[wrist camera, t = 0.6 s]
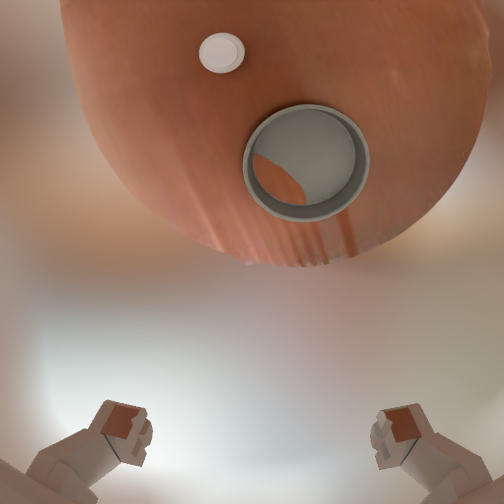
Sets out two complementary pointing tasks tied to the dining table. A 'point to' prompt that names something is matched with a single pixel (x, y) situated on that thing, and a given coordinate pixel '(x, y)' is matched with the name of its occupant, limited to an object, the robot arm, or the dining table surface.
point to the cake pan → (310, 160)
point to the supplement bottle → (221, 52)
